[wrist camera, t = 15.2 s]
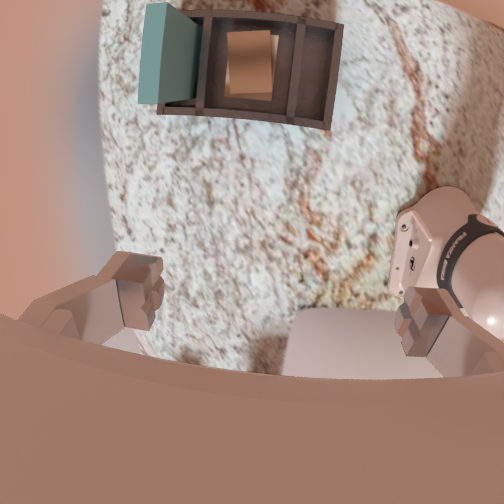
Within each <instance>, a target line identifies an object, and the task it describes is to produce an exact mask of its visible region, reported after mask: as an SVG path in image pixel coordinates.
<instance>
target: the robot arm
mask: <svg viewBox="0 0 504 504" xmlns="http://www.w3.org/2000/svg"><path fill="white" fill-rule="evenodd" d="M403 224H405V226H404V227H402V225H403ZM162 271H163V260H162V258H161V257H158V256H151V255H145V254H139V253H132V252H126V251H117V252H116V253H115V254H114V255H113V256H112V258H111V259H110V260H109V261H108V262H107V264H106V265H105V266H104V267H103V269H102V270H101V271H100V272H99V274H98V275H97V276H94V275H92V276H90V277H87V278H85V279H83V280H80V281H78V282H75V283H73V284H71V285H68V286H66V287H64V288H61V289H59V290H57V291H54V292H52V293H50V294H47V295H45V296H43V297H40V298H38V299H36V300H34V301H33V302H32V303H31V305H30V306H29V307H28V308H27V309H26V310H25V312H24V313H23V314H22V315H21V316H20V318H19V319H18V320H15V319H13V318H10V317H7V316H4V315H2V314H0V504H504V343H503V342H502V341H501V340H499V339H502V340H504V232H502V231H501V230H500V229H499V228H498V226H497V225H496V224H495V223H493V222H492V221H491V220H489V219H488V218H486V217H485V216H482V215H481V214H480V212H479V211H478V210H477V209H476V208H475V206H474V205H473V203H472V201H471V199H470V198H469V196H468V195H467V194H466V193H465V192H464V191H462V190H460V189H458V188H456V187H450V186H445V187H440V188H437V189H434V190H432V191H430V192H429V193H427V194H426V195H425V196H423V197H422V198H421V199H420V200H419V201H418V202H417V203H416V204H415V205H414V206H412V207H410V208H407V209H405V210H403V211H401V212H400V213H399V214H398V215H397V218H396V227H395V236H394V245H393V253H392V260H391V267H390V274H389V280H388V289H389V290H390V291H391V292H392V293H393V294H394V295H396V296H397V297H400V298H402V299H404V301H405V302H404V303H403V304H402V305H400V306H399V307H398V310H397V313H396V316H395V328H396V331H397V333H398V334H399V335H400V336H401V337H402V338H403V339H402V341H401V344H402V347H403V350H404V352H405V355H406V356H415V357H426V358H427V359H428V360H429V361H430V363H432V365H433V366H434V367H435V368H436V369H437V370H438V371H439V372H440V373H441V374H442V376H443V378H425V379H399V380H398V379H396V380H395V379H394V380H359V379H358V380H357V379H355V380H354V379H327V378H308V377H294V376H282V375H271V374H261V373H252V372H244V371H235V370H228V369H220V368H213V367H207V366H200V365H194V364H188V363H182V362H176V361H171V360H165V359H160V358H155V357H150V356H145V355H141V354H136V353H131V352H126V351H122V350H118V349H114V348H110V347H106V346H102V345H101V344H103V343H104V342H106V341H107V340H108V339H110V338H111V337H112V336H114V335H115V334H117V333H118V332H120V331H121V330H122V329H124V327H128V328H134V329H140V330H146V331H149V330H150V328H151V326H152V324H153V321H154V319H155V311H156V310H157V309H159V308H160V306H161V304H162V301H163V296H164V280H163V279H162V277H161V276H160V274H161V273H162ZM400 291H401V292H400ZM459 308H464V309H465V311H466V312H467V314H468V316H469V317H470V318H469V317H466V316H464V315H463V314H462V312H461V310H460V309H459Z"/></svg>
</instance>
